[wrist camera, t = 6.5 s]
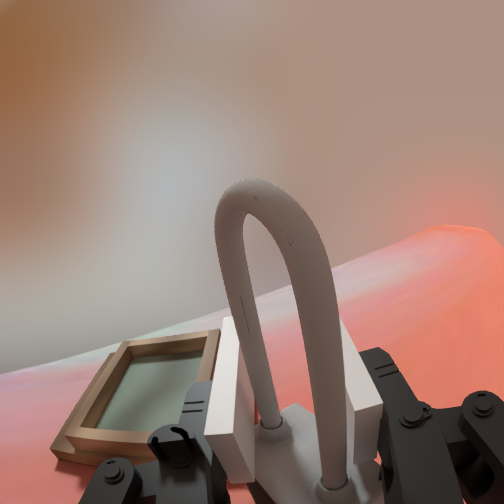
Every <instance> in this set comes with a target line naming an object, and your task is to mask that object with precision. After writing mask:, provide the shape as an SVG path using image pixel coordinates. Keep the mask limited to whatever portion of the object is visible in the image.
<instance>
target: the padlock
mask: <svg viewBox="0 0 504 504" xmlns="http://www.w3.org/2000/svg"><path fill="white" fill-rule="evenodd" d="M248 213H249V214H251V215H253V216H255V217H256V218H257V219H258V220H259V221H260V222H262V224H263V225H264V226H265V227H266V228H267V229H268V231H269V232H270V233H271V235H272V237H273V238H274V240H275V241H276V243H277V245H278V247H279V248H280V251H281V253H282V255H283V257H284V260H285V263H286V266H287V269H288V272H289V275H290V278H291V283H292V287H293V291H294V295H295V299H296V303H297V308H298V313H299V319H300V324H301V329H302V334H303V339H304V345H305V351H306V357H307V364H308V370H309V377H310V383H311V390H312V397H313V404H314V411H315V415H314V414H312V413H311V412H309V411H308V410H306V409H305V408H303V407H302V406H301V405H299V404H298V403H294V404H292V405H290V406H289V407H287V408H285V409H284V410H282V411H279V406H278V402H277V398H276V394H275V389H274V385H273V381H272V376H271V372H270V367H269V363H268V359H267V354H266V350H265V346H264V341H263V337H262V332H261V328H260V323H259V319H258V314H257V309H256V305H255V300H254V296H253V291H252V286H251V281H250V276H249V271H248V266H247V261H246V255H245V249H244V242H243V223H244V219H245V217H246V215H247V214H248ZM214 224H215V225H214V227H215V239H216V247H217V253H218V258H219V263H220V267H221V272H222V275H223V280H224V285H225V289H226V293H227V297H228V300H229V305H230V309H231V313H232V317H233V320H234V324H235V328H236V332H237V336H238V339H239V343H240V347H241V351H242V354H243V358H244V361H245V365H246V368H247V372H248V376H249V379H250V383H251V386H252V389H253V393H254V396H255V400H256V403H257V407H258V410H259V413H260V417H261V419H260V422H259V423H258V424H256V425H255V482H250V483H245V484H246V486H247V488H248V490H249V492H250V494H251V495H252V497H253V499H254V501H255V503H256V504H385V503H384V494H383V485H382V480H379V481H378V478H379V472H380V467H381V465H379V464H378V463H377V462H376V461H374V460H373V459H372V460H368V461H365V462H361V463H358V464H354V465H353V463H352V459H351V456H350V452H349V449H348V446H347V415H346V389H345V371H344V359H343V347H342V337H341V327H340V319H339V312H338V305H337V299H336V292H335V287H334V282H333V277H332V272H331V268H330V265H329V261H328V257H327V254H326V251H325V247H324V245H323V243H322V240H321V238H320V235H319V233H318V231H317V229H316V228H315V226H314V224H313V222H312V221H311V219H310V218H309V216H308V215H307V213H306V212H305V211H304V209H303V208H302V207H301V206H300V205H299V204H298V202H297V201H295V200H294V199H293V198H292V197H291V196H290V195H289V194H288V193H287V192H285V191H284V190H283V189H281V188H279V187H278V186H276V185H274V184H272V183H270V182H268V181H265V180H261V179H244V180H240V181H238V182H236V183H234V184H233V185H231V186H230V187H229V188H228V189H227V190H226V191H225V192H224V193H223V195H222V196H221V198H220V200H219V203H218V205H217V209H216V214H215V223H214Z"/></svg>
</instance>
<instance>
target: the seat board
mask: <svg viewBox="0 0 504 504" xmlns="http://www.w3.org/2000/svg"><path fill="white" fill-rule="evenodd" d="M220 337H221V331H220V329H214V330H208V331H201V332H195V333H188V334H181V335H174V336H166V337H158V338H150V339H142V340H133V341H124V342H122V344H121V345H120V347H119V348H118V350H117V351H116V353H110V354H109V356H108V357H107V359H106V360H105V362H104V363H103V365H102V366H101V368H100V369H99V371H98V372H97V374H96V375H95V377H94V378H93V380H92V381H91V383H90V384H89V386H88V387H87V389H86V390H85V392H84V394H83V395H82V397H81V398H80V400H79V401H78V403H77V404H76V406H75V408H74V409H73V411H72V412H71V414H70V416H69V417H68V419H67V420H66V422H65V424H64V425H63V427H62V429H61V430H60V432H59V433H58V435H57V437H56V438H55V440H54V442H53V443H52V445H51V447H50V450H51V451H52V452H53V453H54V455H55V456H56V457H57V458H58V459H62V460H66V461H71V462H76V463H81V464H86V465H92V466H97V467H99V465H100V464H101V463H103V462H104V461H106V460H107V459H111V458H114V457H122V458H124V459H127V460H128V461H129V462H130V463H131V464H132V465H138V464H143V463H148V462H152V461H155V460H158V459H157V458H156V456H155V455H154V454H153V452H152V451H151V449H150V448H149V447H148V445H147V444H146V443H147V441H148V438H149V436H150V435H151V434H152V433H153V432H154V431H155V430H157V429H158V428H160V427H162V426H165V425H169V424H178V423H179V419H180V416H181V413H182V408H183V404H184V400H185V397H186V393H187V391H188V390H189V389H190V387H191V386H192V385H193V384H194V382H204V381H213V377H214V372H215V366H216V360H217V354H218V349H219V343H220Z"/></svg>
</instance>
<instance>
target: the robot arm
mask: <svg viewBox="0 0 504 504" xmlns="http://www.w3.org/2000/svg"><path fill="white" fill-rule="evenodd" d="M339 319H340V327H341V337H342V347H343V359H344V371H345V389H346V415H347V446H348V449H349V452H350V456H351V459H352V463H353V465H354V464H358V463H361V462H365V461H368V460H372V459H375V458H377V451H378V452H379V455H380V457H381V460H382V462H381V467H380V472H379V478H378V481H379V480H382V485H383V494H384V503H385V504H464V502H463V499H464V500H465V502H466V504H504V402H503V401H502V400H501V399H500V398H499V397H498V396H497V395H495V394H494V393H492V392H488V391H477V392H474V393H471V394H470V395H468V396H467V397H466V398H465V399H464V401H463V403H462V406H458V407H452V408H445V409H435V408H431V406H430V405H428V404H426V403H425V402H421V401H418V399H417V398H416V397H415V395H414V393H413V392H412V390H411V388H410V387H409V385H408V383H407V382H406V380H405V379H404V377H403V375H402V374H401V372H399V369H398V367H397V366H396V364H394V361H393V360H392V358H391V356H390V355H389V353H387V352H385V351H384V350H382V349H381V348H379V347H376V348H373V349H369V350H365V351H362V352H358V351H357V349H356V347H355V345H354V343H353V341H352V339H351V337H350V336H349V334H348V332H347V330H346V328H345V326H344V324H343V322H342V320H341V318H340V317H339ZM146 444H147V445H148V447H149V448H150V449H151V451H152V452H153V454H154V455H155V456H156V458H157V459H158V460H155V461H152V462H148V463H143V464H138V465H132V464H131V463H130V462H129V461H128V460H127V459H124V458H122V457H114V458H111V459H107V460H106V461H104V462H103V463H101V464H100V465H99V467H98V468H97V469H96V471H95V473H94V475H93V477H92V478H91V480H90V482H89V484H88V486H87V488H86V490H85V492H84V494H83V496H82V498H81V499H80V501H79V503H78V504H231V501H230V496H229V493H228V491H227V489H226V478H228V480H229V482H230V483H231V484H236V483H250V482H255V424H254V393H253V389H252V386H251V383H250V379H249V376H248V372H247V368H246V365H245V361H244V358H243V354H242V351H241V347H240V343H239V339H238V336H237V332H236V328H235V324H234V320H233V317H232V316H229V317H224V321H223V326H222V332H221V337H220V343H219V349H218V354H217V360H216V366H215V372H214V377H213V381H204V382H194V384H193V385H192V386H191V387H190V389H189V390H188V391H187V393H186V397H185V400H184V404H183V408H182V413H181V416H180V419H179V423H178V424H169V425H165V426H162V427H160V428H158V429H157V430H155V431H154V432H153V433H152V434H151V435H150V436H149V438H148V441H147V443H146ZM462 497H463V498H462Z"/></svg>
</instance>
